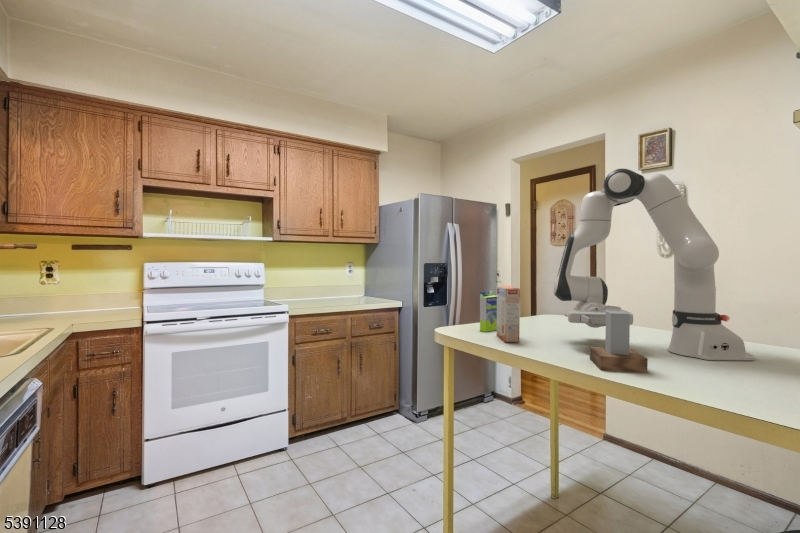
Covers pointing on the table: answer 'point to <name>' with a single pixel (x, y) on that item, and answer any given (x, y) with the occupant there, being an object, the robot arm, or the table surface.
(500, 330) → the cracker box
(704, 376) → the table surface
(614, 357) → the walnut block
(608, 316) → the grey block
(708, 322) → the robot arm
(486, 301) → the box
